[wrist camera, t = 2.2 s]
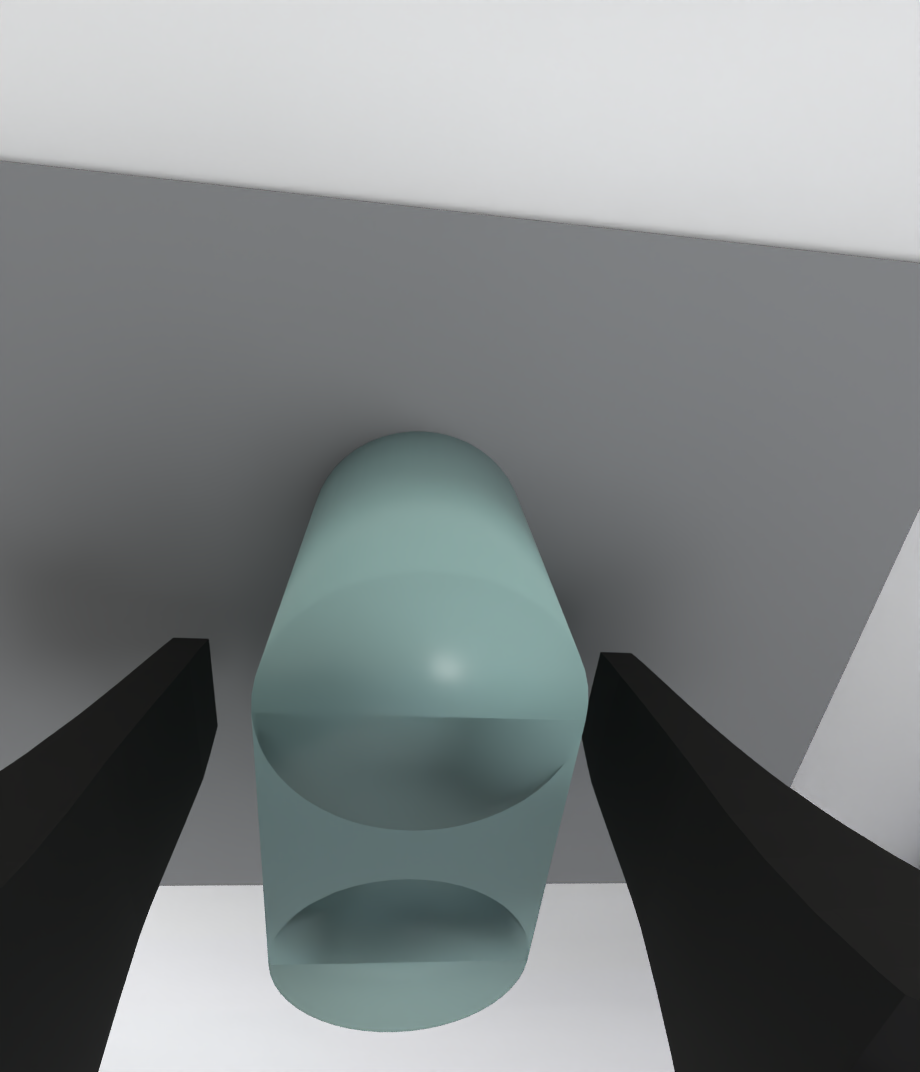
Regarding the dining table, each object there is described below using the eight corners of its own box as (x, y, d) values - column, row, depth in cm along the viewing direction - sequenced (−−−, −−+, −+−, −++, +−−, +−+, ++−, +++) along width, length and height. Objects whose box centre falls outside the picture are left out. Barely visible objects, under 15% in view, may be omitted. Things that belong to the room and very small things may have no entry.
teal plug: (311, 423, 11) (241, 561, 6) (536, 440, 11) (620, 581, 7) (316, 856, 16) (278, 1105, 11) (471, 857, 16) (493, 1097, 12)
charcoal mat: (1003, 272, 11) (1028, 275, 10) (737, 866, 18) (745, 882, 17) (-256, 133, 9) (-292, 128, 8) (2, 868, 16) (-10, 886, 15)
